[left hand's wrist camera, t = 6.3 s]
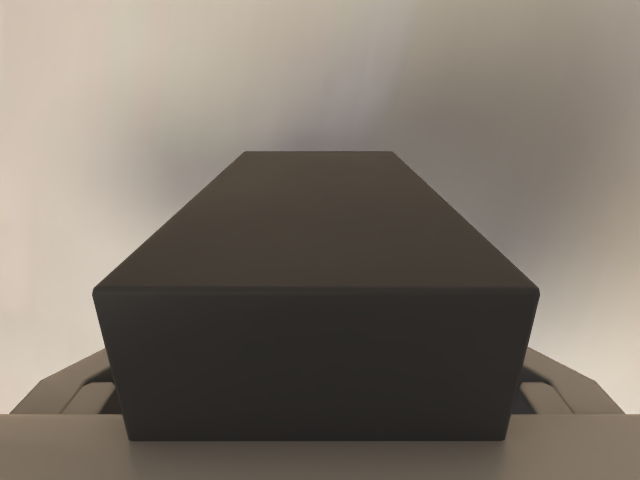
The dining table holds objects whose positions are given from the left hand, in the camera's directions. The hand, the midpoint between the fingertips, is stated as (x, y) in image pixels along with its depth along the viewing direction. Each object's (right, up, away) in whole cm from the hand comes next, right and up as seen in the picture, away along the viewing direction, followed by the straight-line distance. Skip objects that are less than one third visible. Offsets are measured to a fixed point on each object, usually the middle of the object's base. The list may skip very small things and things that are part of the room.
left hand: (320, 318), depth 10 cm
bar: (0, -8, +7) cm, 10 cm away
